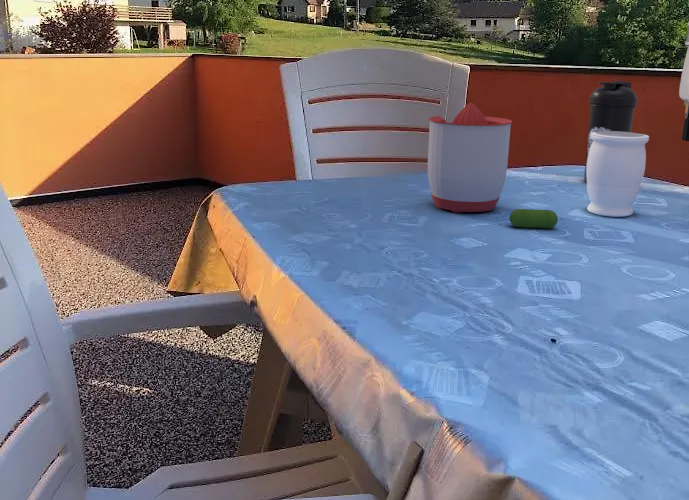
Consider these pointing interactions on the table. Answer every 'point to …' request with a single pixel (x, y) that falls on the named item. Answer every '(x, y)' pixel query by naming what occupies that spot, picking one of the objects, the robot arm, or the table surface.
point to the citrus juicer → (468, 160)
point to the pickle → (533, 218)
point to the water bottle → (611, 110)
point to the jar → (615, 171)
